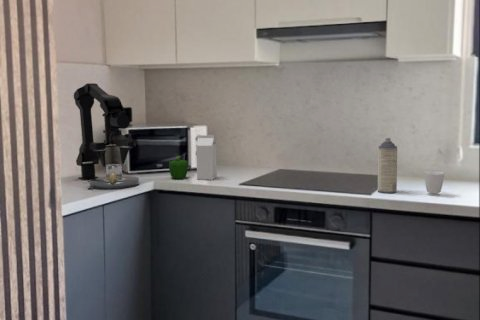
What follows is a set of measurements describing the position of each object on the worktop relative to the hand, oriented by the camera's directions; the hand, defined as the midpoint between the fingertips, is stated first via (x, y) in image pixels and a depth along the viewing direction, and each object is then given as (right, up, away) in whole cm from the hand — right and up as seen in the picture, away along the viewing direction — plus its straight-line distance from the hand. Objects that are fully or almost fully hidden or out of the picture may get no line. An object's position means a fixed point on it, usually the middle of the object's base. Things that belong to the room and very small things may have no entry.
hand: (113, 165), depth 230 cm
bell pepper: (+25, -6, +16) cm, 30 cm away
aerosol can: (+107, -10, -24) cm, 110 cm away
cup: (+122, -10, -30) cm, 126 cm away
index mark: (-8, -10, -7) cm, 14 cm away
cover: (0, -6, +1) cm, 6 cm away
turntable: (0, -8, +1) cm, 8 cm away
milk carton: (+38, -6, +14) cm, 41 cm away
